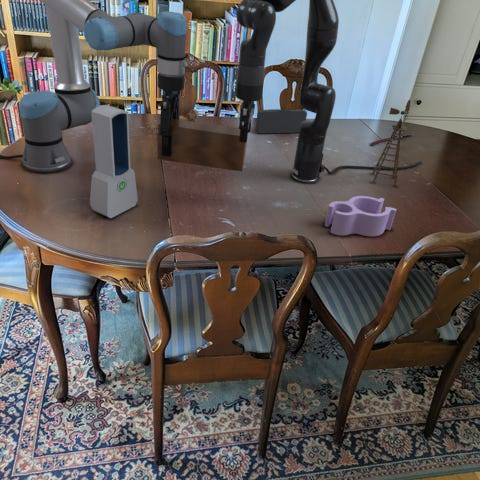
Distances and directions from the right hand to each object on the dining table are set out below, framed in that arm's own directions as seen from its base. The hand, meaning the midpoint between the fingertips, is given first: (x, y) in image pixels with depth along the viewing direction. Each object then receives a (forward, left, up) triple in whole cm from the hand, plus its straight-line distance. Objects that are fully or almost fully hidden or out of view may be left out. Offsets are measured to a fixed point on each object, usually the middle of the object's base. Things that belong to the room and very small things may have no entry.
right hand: (244, 136), depth 137 cm
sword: (-100, -8, -22) cm, 102 cm away
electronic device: (+34, -16, -22) cm, 44 cm away
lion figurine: (-21, -61, -22) cm, 68 cm away
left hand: (+15, -17, -8) cm, 24 cm away
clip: (-21, +31, -22) cm, 44 cm away
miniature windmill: (-59, +15, -22) cm, 65 cm away
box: (+8, -9, -10) cm, 16 cm away
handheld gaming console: (-59, -40, -22) cm, 74 cm away
